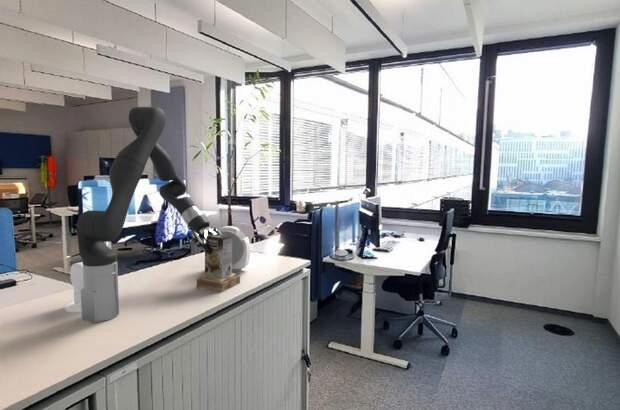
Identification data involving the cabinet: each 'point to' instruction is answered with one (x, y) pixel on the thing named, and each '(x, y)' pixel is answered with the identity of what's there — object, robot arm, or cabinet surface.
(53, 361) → the cabinet surface
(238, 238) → the alarm clock
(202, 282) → the brown flat block
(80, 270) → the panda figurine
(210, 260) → the coffee box
